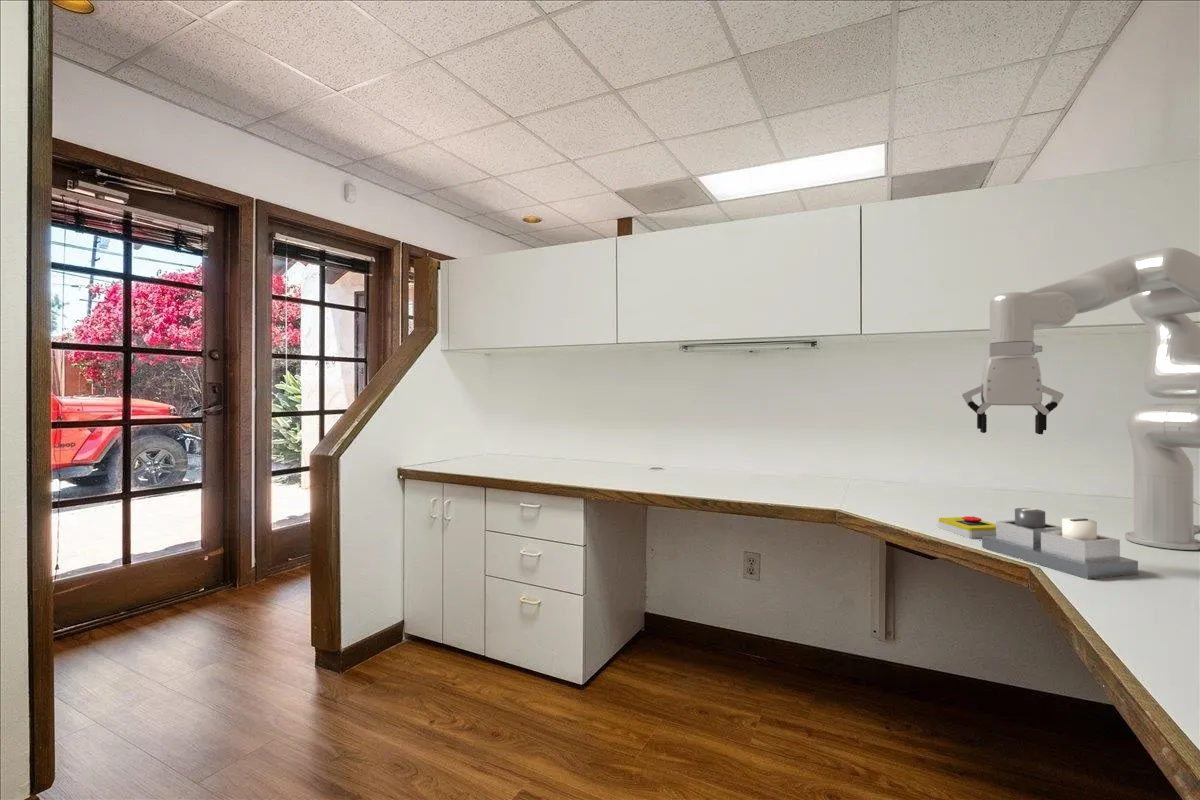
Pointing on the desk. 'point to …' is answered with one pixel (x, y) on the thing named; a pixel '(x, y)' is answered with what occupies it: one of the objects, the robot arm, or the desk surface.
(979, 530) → the emergency button
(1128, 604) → the desk surface
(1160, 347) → the robot arm
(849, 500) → the desk surface
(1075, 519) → the knob ivory
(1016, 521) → the knob black
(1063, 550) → the mount
